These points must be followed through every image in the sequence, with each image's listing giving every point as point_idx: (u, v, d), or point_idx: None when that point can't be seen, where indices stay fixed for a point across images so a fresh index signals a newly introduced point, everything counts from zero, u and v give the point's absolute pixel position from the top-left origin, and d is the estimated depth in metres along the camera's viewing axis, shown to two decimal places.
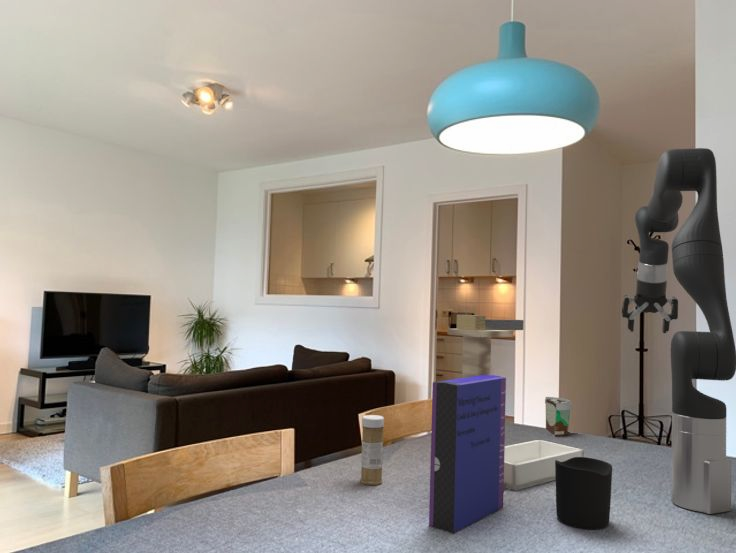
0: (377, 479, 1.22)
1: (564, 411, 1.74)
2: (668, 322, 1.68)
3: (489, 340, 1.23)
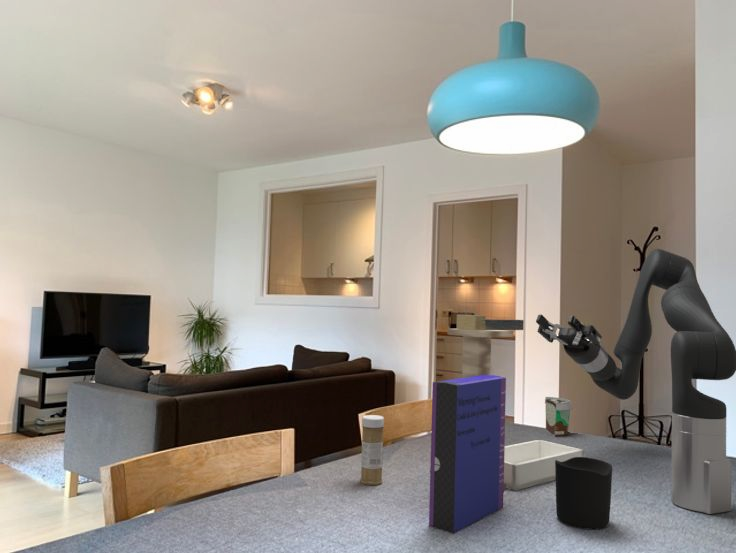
0: (377, 479, 1.22)
1: (564, 411, 1.74)
2: None
3: (489, 340, 1.23)
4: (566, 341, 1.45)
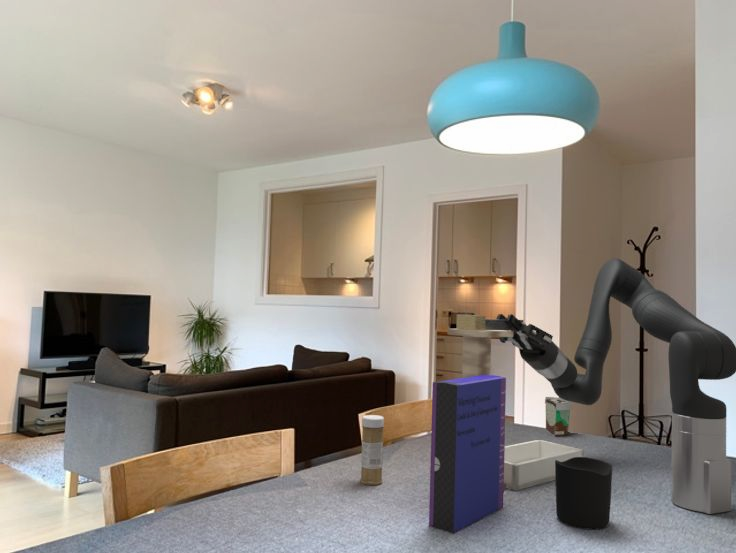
0: (377, 479, 1.22)
1: (564, 411, 1.74)
2: None
3: (489, 340, 1.23)
4: (522, 346, 1.34)
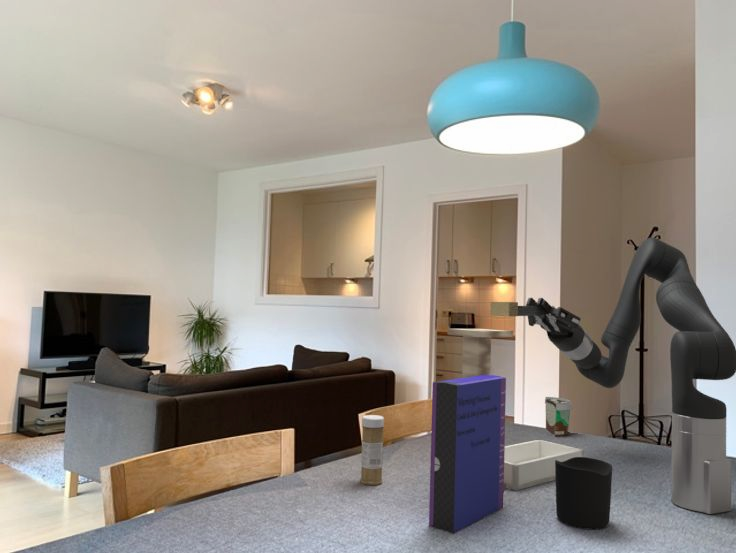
0: (377, 479, 1.22)
1: (564, 411, 1.74)
2: None
3: (489, 340, 1.23)
4: (550, 328, 1.41)
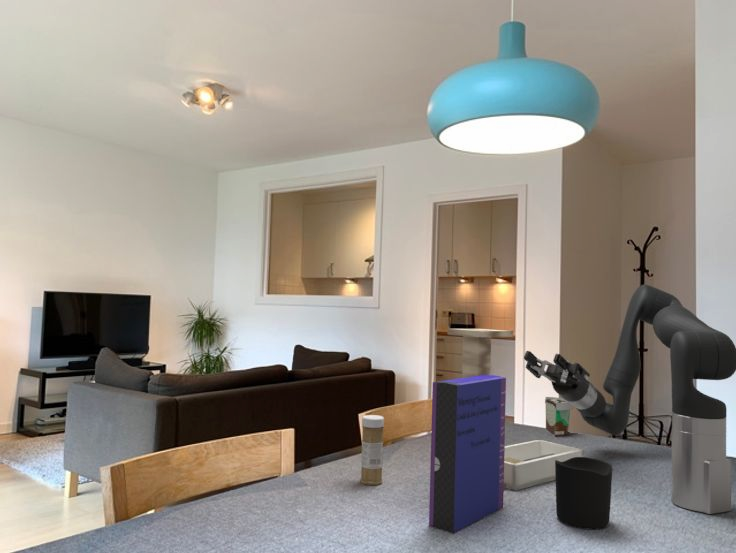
0: (377, 479, 1.22)
1: (564, 411, 1.74)
2: None
3: (489, 340, 1.23)
4: (554, 378, 1.41)
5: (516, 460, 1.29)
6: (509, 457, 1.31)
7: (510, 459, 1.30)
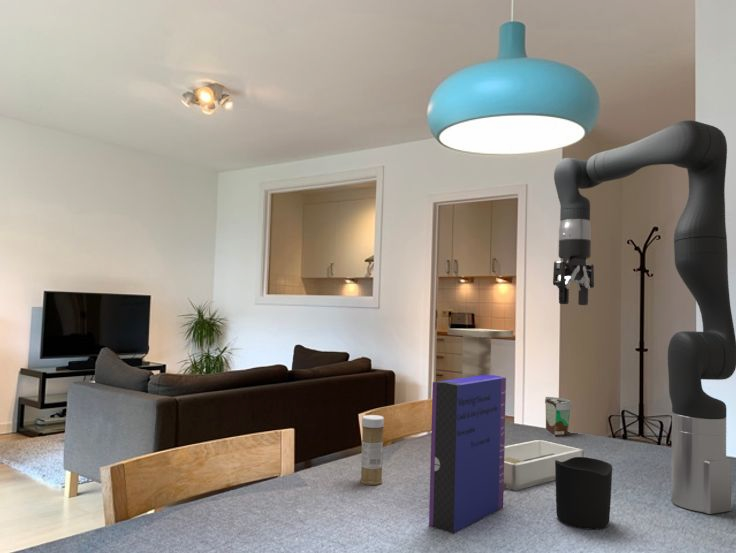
0: (377, 479, 1.22)
1: (564, 411, 1.74)
2: None
3: (489, 340, 1.23)
4: None
5: (516, 460, 1.29)
6: (509, 457, 1.31)
7: (510, 459, 1.30)
